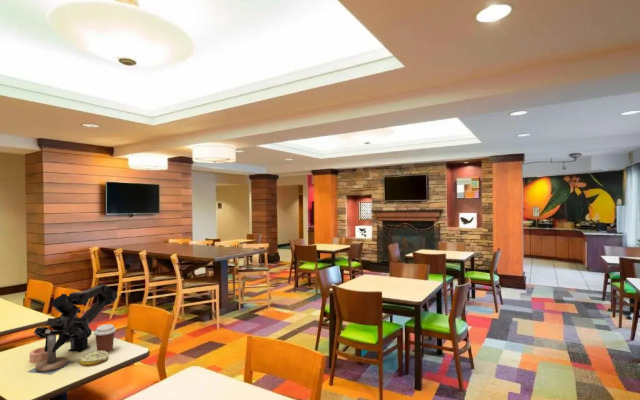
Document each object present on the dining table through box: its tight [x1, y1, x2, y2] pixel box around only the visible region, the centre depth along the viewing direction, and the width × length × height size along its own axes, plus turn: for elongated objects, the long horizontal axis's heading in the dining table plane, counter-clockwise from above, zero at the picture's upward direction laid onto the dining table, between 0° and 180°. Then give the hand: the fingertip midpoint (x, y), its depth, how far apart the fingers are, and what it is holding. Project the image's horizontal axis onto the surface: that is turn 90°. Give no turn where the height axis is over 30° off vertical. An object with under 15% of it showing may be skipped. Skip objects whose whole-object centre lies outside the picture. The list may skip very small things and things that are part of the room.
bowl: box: [29, 346, 47, 364], centre depth 162 cm, size 9×9×4 cm
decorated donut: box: [79, 350, 109, 367], centre depth 160 cm, size 10×11×4 cm
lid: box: [35, 334, 68, 372], centre depth 155 cm, size 11×11×13 cm
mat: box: [26, 360, 75, 375], centre depth 155 cm, size 12×12×1 cm
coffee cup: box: [93, 324, 117, 354], centre depth 171 cm, size 9×9×12 cm
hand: (49, 351), depth 153 cm, fingers closed on lid, 3 cm apart
